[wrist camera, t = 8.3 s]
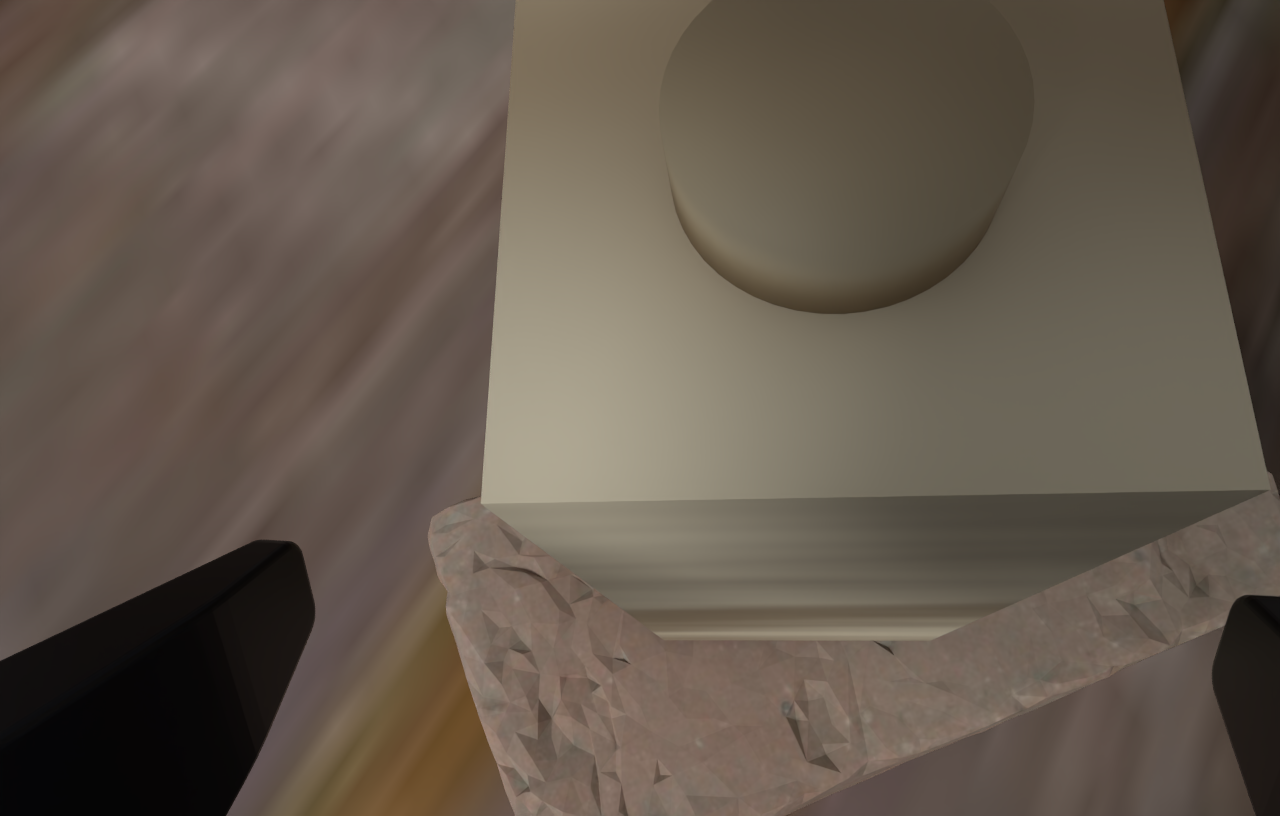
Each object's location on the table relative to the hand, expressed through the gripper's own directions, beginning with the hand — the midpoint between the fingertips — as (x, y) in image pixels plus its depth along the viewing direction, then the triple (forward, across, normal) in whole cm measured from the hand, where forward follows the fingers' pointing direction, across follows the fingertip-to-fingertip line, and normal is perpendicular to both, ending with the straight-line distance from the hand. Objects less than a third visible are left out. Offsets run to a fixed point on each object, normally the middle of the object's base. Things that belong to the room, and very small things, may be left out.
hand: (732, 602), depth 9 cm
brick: (+12, -2, +8) cm, 14 cm away
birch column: (+8, -1, +4) cm, 9 cm away
